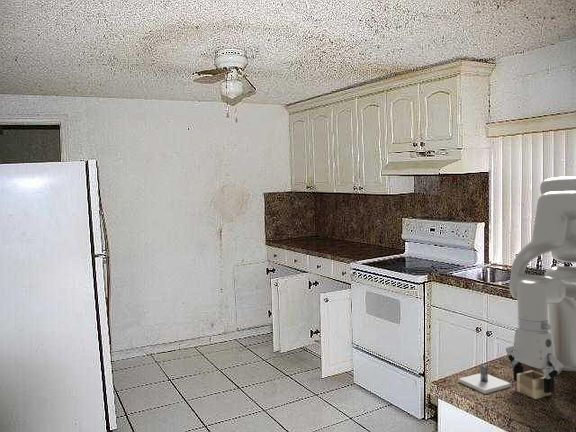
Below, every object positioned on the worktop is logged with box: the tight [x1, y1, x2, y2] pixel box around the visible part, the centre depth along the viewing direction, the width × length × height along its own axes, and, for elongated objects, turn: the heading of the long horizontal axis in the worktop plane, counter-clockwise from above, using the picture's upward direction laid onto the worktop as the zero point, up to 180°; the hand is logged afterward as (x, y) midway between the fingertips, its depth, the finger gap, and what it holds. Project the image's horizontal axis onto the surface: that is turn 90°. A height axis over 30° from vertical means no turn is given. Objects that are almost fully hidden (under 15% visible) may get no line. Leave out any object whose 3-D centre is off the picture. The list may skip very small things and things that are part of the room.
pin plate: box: [458, 364, 512, 395], centre depth 141 cm, size 10×10×6 cm
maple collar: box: [516, 370, 552, 400], centre depth 134 cm, size 6×6×5 cm
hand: (533, 385), depth 134 cm, fingers open, 9 cm apart
